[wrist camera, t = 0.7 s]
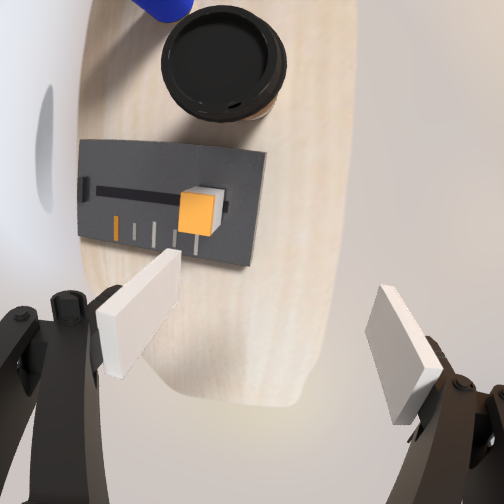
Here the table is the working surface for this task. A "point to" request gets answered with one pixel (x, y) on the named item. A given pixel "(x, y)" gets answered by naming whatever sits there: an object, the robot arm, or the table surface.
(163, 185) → the panel
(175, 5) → the beverage can
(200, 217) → the fader tab
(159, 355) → the table surface
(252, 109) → the coffee cup
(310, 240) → the table surface
